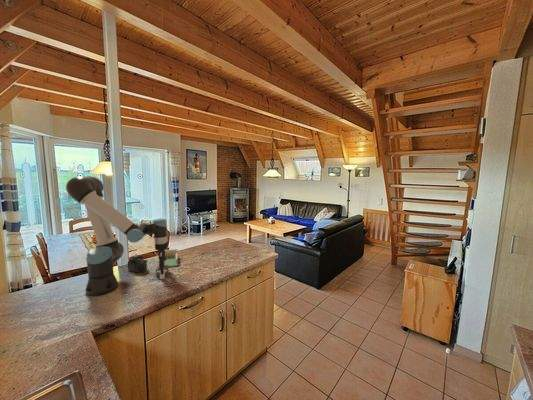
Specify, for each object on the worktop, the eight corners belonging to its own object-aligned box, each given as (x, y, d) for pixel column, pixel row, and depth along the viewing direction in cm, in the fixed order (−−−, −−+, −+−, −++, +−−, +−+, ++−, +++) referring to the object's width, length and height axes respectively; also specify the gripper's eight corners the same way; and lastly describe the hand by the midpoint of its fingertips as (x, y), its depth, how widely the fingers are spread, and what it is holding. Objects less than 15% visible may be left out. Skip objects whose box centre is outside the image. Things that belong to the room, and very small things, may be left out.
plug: (156, 277, 149) (155, 269, 148) (157, 273, 155) (157, 266, 154) (168, 276, 151) (167, 268, 150) (168, 272, 157) (168, 265, 156)
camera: (151, 267, 164) (150, 253, 163) (142, 273, 154) (141, 259, 153) (133, 266, 166) (132, 253, 164) (123, 272, 156) (122, 258, 155)
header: (178, 266, 166) (177, 257, 166) (157, 268, 162) (157, 259, 161) (177, 256, 185) (177, 248, 184) (159, 258, 180) (159, 250, 179)
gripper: (166, 247, 140) (168, 281, 143) (168, 237, 163) (169, 266, 166) (152, 249, 137) (155, 283, 140) (156, 238, 160) (158, 267, 163)
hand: (163, 274), depth 153 cm, fingers open, 13 cm apart
